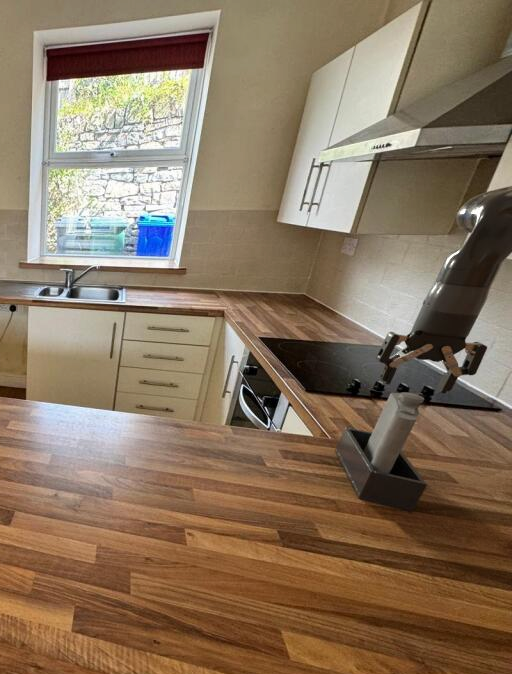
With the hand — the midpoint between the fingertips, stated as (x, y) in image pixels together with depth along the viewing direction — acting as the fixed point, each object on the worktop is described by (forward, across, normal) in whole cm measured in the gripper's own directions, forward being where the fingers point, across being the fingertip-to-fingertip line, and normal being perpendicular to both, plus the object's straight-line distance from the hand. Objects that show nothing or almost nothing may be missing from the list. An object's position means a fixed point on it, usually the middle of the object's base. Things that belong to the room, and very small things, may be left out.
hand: (412, 387), depth 81 cm
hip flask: (+22, 0, 0) cm, 22 cm away
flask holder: (+22, 0, 0) cm, 22 cm away
